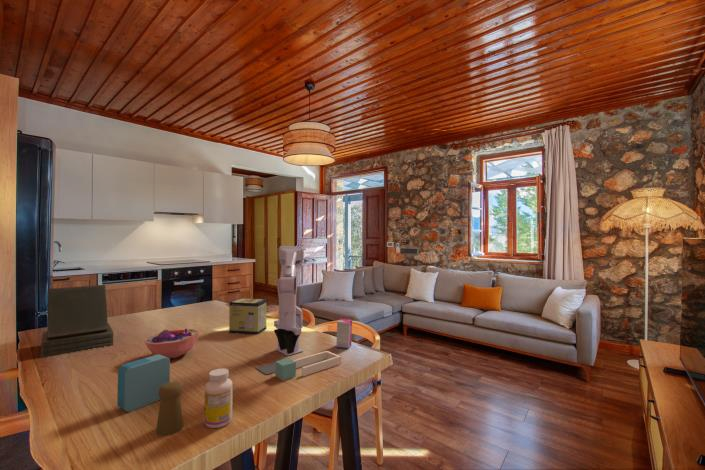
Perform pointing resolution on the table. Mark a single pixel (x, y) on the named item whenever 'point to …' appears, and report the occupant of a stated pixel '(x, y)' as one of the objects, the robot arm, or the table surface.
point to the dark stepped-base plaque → (76, 320)
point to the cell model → (172, 342)
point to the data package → (142, 381)
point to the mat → (267, 368)
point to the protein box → (247, 316)
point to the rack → (330, 362)
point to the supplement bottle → (218, 399)
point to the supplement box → (344, 333)
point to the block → (285, 369)
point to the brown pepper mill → (170, 409)
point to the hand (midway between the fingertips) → (286, 351)
